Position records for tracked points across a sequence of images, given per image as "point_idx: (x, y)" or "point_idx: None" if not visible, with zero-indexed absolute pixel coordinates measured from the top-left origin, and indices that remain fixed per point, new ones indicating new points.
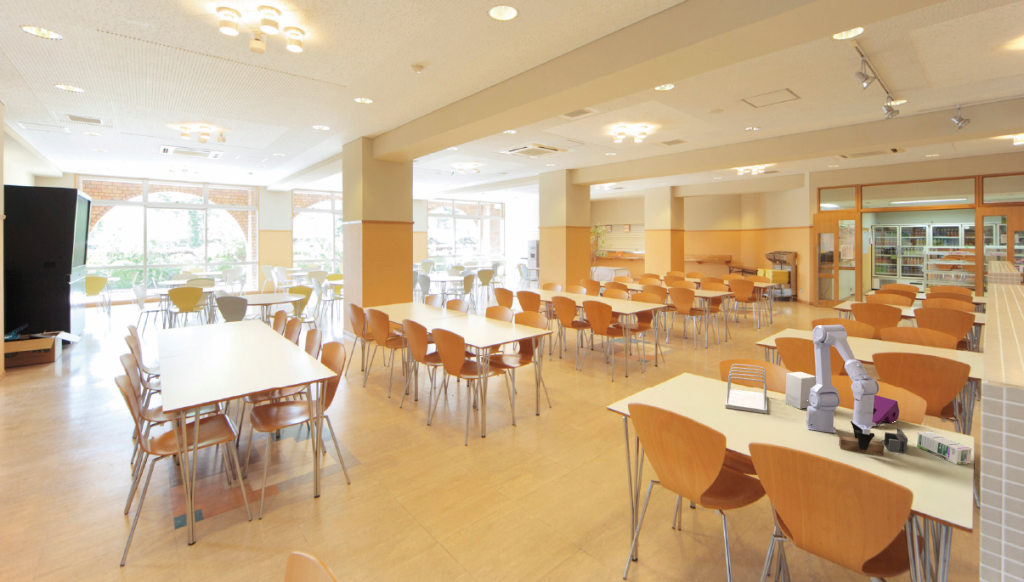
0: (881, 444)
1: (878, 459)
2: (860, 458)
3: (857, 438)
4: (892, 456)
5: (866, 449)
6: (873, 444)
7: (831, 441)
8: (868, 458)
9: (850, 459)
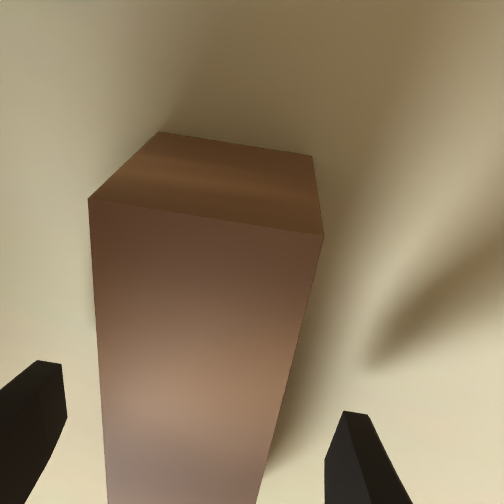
0: (260, 260)
1: (469, 274)
2: (450, 430)
3: (110, 493)
4: (328, 10)
5: (372, 429)
6: (285, 381)
7: (85, 498)
8: (444, 365)
9: (478, 500)
